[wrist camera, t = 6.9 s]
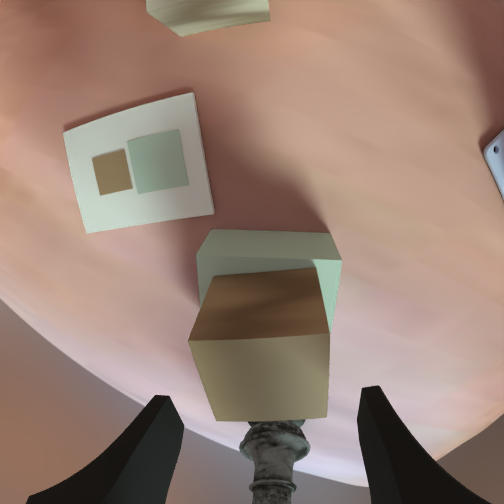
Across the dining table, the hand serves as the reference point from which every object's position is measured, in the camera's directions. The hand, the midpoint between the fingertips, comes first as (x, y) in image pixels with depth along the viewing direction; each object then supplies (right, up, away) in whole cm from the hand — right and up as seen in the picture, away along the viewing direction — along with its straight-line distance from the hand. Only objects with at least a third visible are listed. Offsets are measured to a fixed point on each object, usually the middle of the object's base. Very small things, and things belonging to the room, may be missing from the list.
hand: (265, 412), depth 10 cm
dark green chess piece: (+2, -9, +15) cm, 17 cm away
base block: (+1, +4, +9) cm, 10 cm away
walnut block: (0, +3, +6) cm, 6 cm away
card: (-8, +11, +7) cm, 15 cm away
